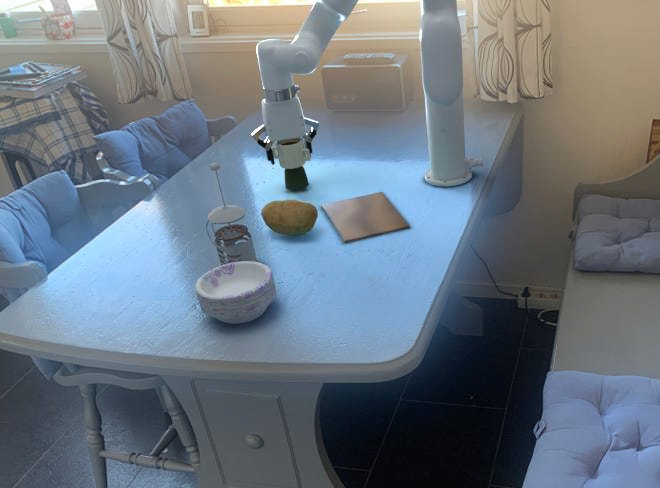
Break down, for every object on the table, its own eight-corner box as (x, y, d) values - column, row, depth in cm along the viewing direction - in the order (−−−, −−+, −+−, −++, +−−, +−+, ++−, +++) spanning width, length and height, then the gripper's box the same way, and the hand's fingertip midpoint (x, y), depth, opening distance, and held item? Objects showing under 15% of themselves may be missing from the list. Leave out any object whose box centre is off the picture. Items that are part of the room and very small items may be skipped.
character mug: (321, 184, 204) (314, 137, 196) (309, 195, 199) (301, 147, 191) (286, 181, 207) (277, 134, 200) (273, 192, 202) (263, 144, 194)
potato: (276, 221, 187) (270, 191, 182) (327, 227, 183) (322, 196, 178) (256, 239, 180) (249, 208, 175) (309, 245, 176) (303, 214, 171)
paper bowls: (232, 287, 162) (223, 255, 158) (293, 298, 157) (286, 264, 152) (188, 326, 151) (178, 292, 147) (253, 338, 146) (244, 303, 141)
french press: (242, 286, 163) (213, 175, 148) (203, 274, 168) (172, 167, 153) (272, 265, 169) (248, 157, 154) (234, 255, 174) (207, 150, 160)
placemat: (381, 193, 196) (381, 191, 196) (409, 228, 179) (409, 225, 179) (322, 207, 192) (321, 204, 192) (345, 243, 175) (344, 240, 175)
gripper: (310, 84, 193) (319, 149, 203) (242, 94, 189) (255, 160, 199) (317, 92, 188) (326, 158, 198) (247, 103, 183) (260, 170, 193)
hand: (290, 159), depth 198 cm, fingers open, 9 cm apart
